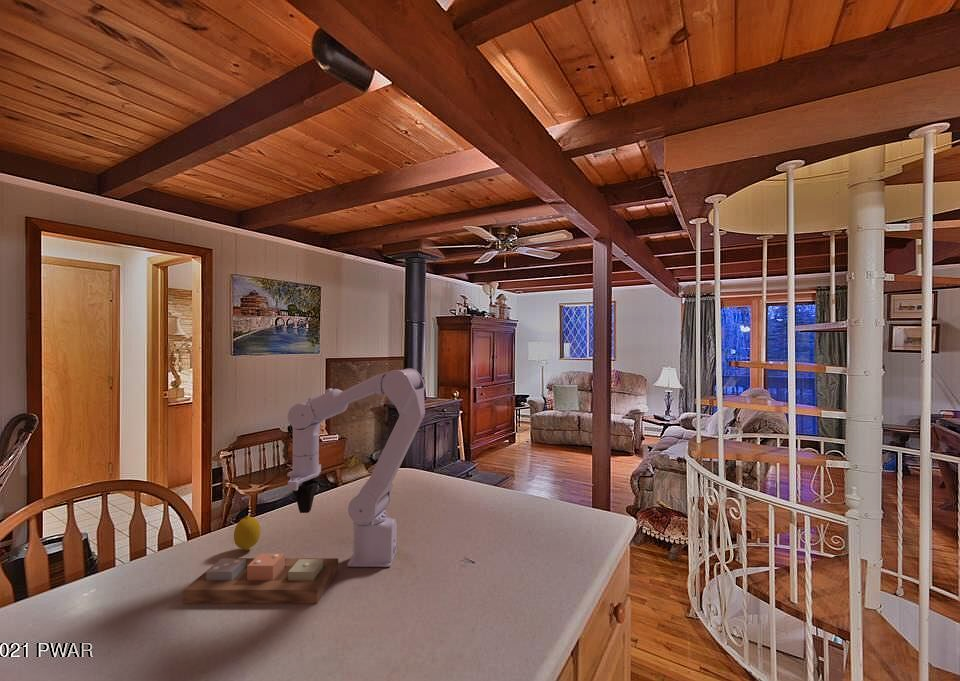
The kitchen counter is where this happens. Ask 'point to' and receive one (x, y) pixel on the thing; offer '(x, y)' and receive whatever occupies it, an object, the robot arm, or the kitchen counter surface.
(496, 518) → the kitchen counter surface
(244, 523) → the lemon
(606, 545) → the kitchen counter surface
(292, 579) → the tile one
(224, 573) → the tile three
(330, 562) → the button board
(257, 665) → the kitchen counter surface
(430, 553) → the kitchen counter surface
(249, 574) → the tile two
